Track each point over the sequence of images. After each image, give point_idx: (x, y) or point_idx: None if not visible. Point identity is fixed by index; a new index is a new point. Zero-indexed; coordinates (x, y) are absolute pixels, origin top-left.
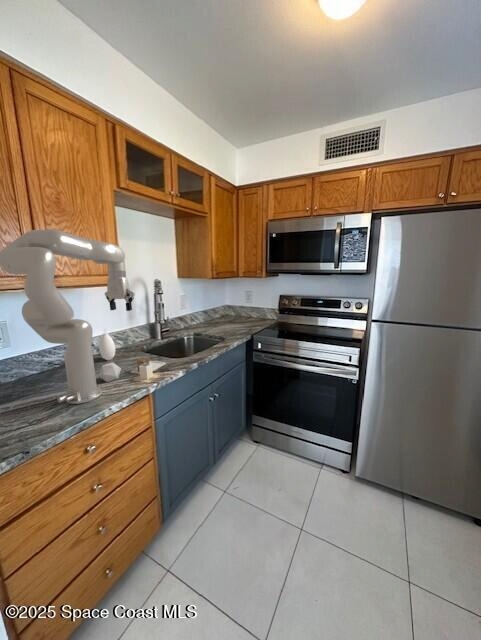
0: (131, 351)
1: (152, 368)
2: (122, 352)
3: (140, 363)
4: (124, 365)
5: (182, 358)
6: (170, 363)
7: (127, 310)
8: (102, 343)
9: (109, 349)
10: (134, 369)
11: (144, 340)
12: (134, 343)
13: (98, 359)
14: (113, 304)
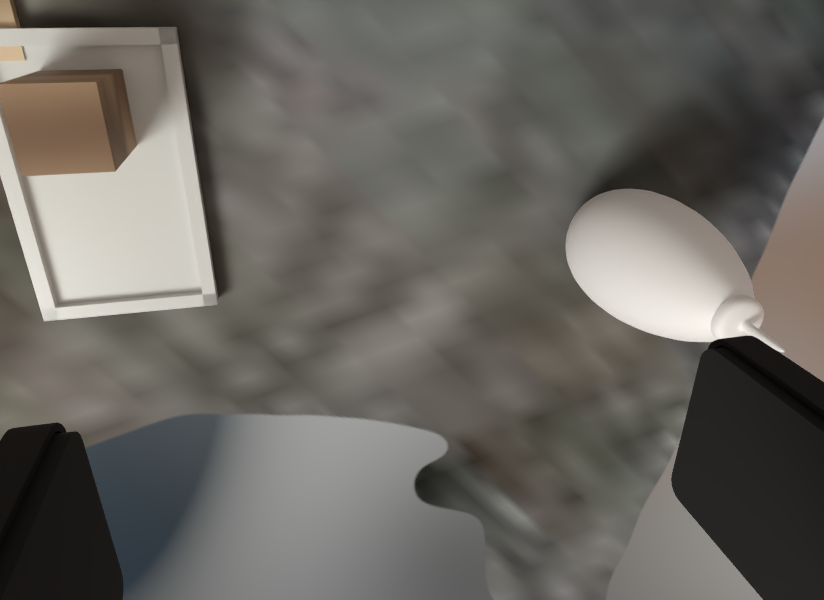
0: (545, 414)
1: (56, 175)
2: (595, 375)
3: (58, 79)
4: (379, 168)
5: None
6: (29, 336)
7: (11, 436)
8: (687, 229)
9: (601, 236)
10: (176, 84)
11: (603, 591)
12: (631, 529)
13: None
14: (811, 547)
